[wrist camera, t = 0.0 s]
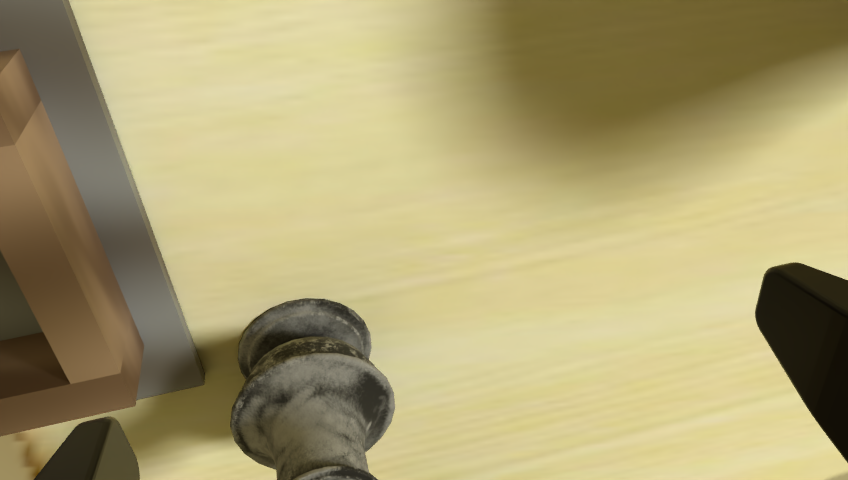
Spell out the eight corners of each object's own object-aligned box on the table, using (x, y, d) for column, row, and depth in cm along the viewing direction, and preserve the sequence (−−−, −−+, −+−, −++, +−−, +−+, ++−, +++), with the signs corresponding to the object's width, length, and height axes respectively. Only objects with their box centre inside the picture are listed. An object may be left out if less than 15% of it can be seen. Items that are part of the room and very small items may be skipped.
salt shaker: (203, 380, 27) (189, 710, 18) (276, 270, 25) (306, 573, 16) (331, 418, 30) (380, 721, 20) (405, 322, 28) (499, 606, 18)
